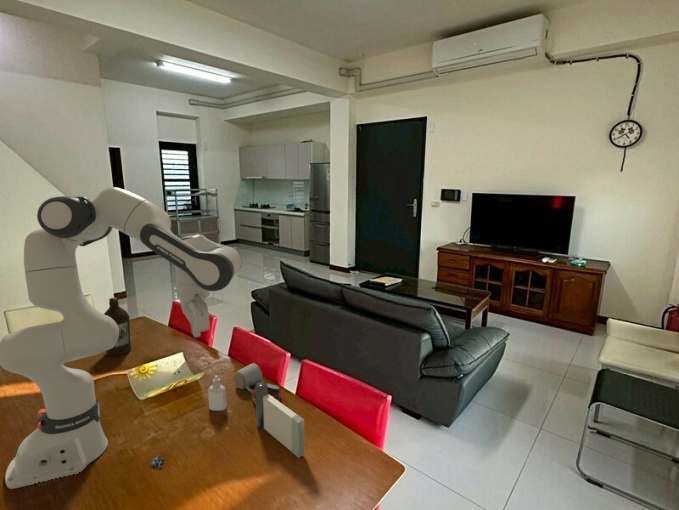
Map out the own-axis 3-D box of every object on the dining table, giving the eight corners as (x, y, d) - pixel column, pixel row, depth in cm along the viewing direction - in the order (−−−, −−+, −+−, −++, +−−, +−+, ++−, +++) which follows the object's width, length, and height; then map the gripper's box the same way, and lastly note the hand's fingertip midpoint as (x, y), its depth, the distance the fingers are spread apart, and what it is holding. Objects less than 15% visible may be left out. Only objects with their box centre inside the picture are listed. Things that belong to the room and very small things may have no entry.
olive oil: (102, 351, 165) (96, 298, 160) (128, 344, 172) (123, 293, 168) (108, 359, 158) (102, 304, 153) (135, 351, 165) (130, 298, 160)
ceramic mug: (233, 386, 138) (232, 367, 137) (251, 377, 144) (250, 360, 143) (250, 397, 132) (249, 378, 130) (268, 388, 138) (267, 369, 136)
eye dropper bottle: (217, 414, 122) (215, 381, 119) (207, 408, 125) (205, 376, 122) (228, 408, 125) (226, 375, 123) (218, 402, 128) (216, 370, 126)
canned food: (252, 408, 133) (246, 380, 135) (279, 400, 136) (273, 373, 138) (255, 412, 122) (249, 381, 124) (284, 402, 126) (278, 373, 128)
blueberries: (168, 451, 106) (167, 445, 106) (177, 465, 100) (176, 459, 100) (142, 463, 101) (142, 457, 101) (150, 478, 96) (150, 472, 95)
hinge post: (259, 430, 114) (257, 389, 111) (255, 424, 117) (253, 384, 114) (270, 426, 116) (269, 386, 113) (265, 420, 119) (264, 380, 116)
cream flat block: (263, 428, 114) (262, 396, 112) (269, 425, 116) (268, 393, 113) (298, 458, 102) (298, 422, 100) (304, 454, 104) (304, 419, 101)
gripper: (213, 298, 99) (216, 345, 102) (196, 281, 116) (199, 322, 119) (189, 302, 96) (192, 351, 98) (175, 283, 112) (178, 326, 115)
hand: (196, 335), depth 109 cm, fingers closed
